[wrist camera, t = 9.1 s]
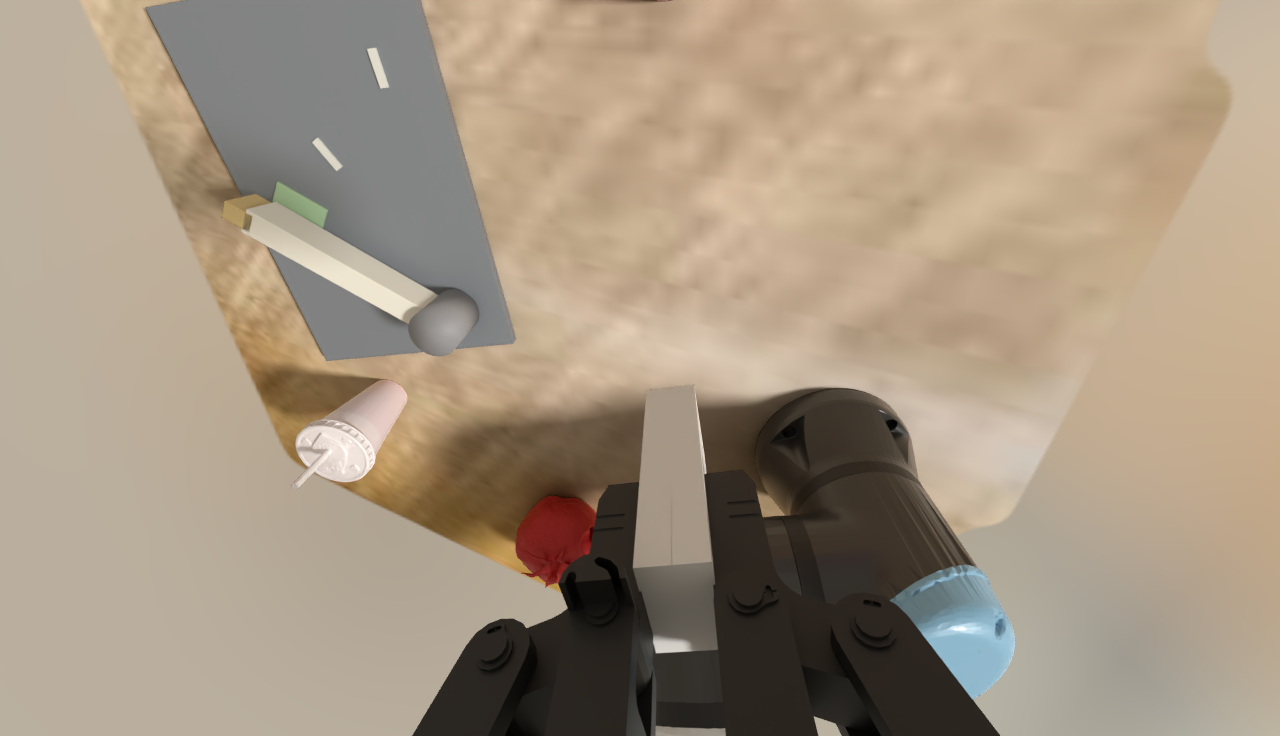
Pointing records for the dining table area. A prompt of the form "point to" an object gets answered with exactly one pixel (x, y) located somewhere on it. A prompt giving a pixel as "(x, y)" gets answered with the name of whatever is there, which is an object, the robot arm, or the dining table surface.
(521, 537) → the pomegranate
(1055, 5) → the dining table surface
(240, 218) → the lever
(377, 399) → the smoothie
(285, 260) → the dial plate
